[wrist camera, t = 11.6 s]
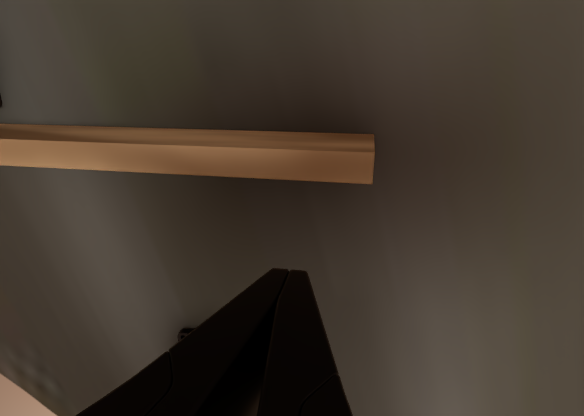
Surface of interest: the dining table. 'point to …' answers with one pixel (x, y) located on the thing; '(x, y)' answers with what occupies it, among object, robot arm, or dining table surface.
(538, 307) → the dining table surface
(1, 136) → the reddish flat wooden frame
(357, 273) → the dining table surface
